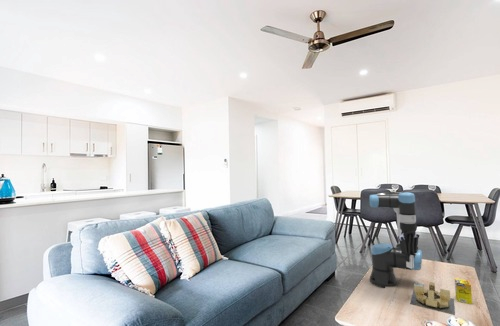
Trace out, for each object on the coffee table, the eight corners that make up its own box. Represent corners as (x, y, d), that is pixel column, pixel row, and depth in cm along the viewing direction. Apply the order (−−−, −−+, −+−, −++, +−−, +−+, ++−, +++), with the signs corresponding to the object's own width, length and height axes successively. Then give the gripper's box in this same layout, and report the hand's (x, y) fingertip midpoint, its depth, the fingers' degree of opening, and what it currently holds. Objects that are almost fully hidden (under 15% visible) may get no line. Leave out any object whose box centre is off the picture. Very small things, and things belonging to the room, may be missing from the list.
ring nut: (413, 302, 131) (412, 289, 131) (416, 290, 143) (415, 278, 143) (451, 311, 122) (450, 297, 122) (450, 298, 134) (449, 285, 134)
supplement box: (472, 306, 128) (471, 284, 128) (457, 303, 131) (456, 282, 132) (470, 301, 133) (469, 280, 133) (455, 298, 136) (454, 278, 137)
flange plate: (410, 306, 130) (409, 298, 131) (413, 292, 145) (413, 285, 145) (455, 317, 120) (454, 309, 120) (454, 301, 134) (453, 293, 134)
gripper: (404, 225, 129) (407, 272, 128) (423, 222, 134) (426, 267, 133) (392, 222, 136) (394, 267, 135) (410, 219, 141) (412, 263, 140)
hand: (410, 267), depth 134 cm, fingers closed
